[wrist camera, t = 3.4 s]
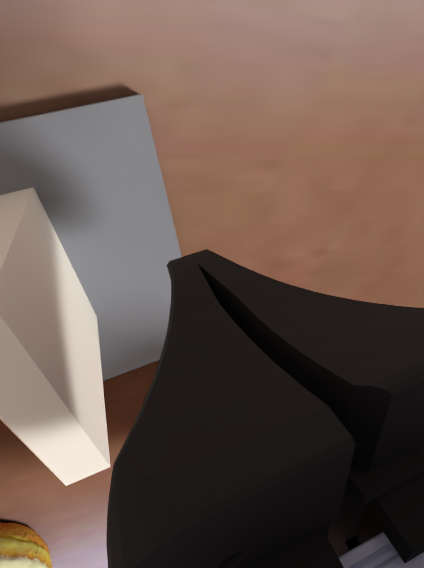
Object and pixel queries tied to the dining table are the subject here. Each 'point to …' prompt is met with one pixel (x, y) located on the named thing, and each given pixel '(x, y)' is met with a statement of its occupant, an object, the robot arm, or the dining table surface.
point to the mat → (103, 216)
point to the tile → (48, 346)
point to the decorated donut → (22, 548)
